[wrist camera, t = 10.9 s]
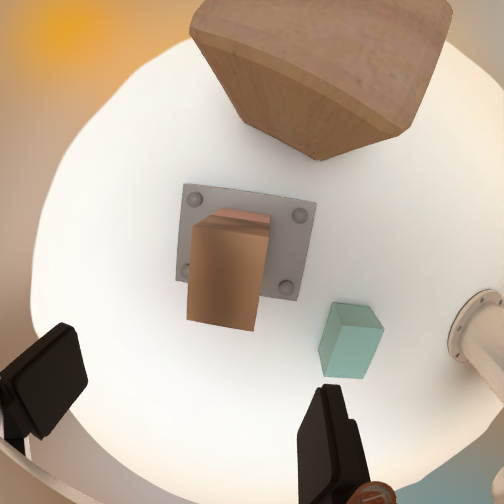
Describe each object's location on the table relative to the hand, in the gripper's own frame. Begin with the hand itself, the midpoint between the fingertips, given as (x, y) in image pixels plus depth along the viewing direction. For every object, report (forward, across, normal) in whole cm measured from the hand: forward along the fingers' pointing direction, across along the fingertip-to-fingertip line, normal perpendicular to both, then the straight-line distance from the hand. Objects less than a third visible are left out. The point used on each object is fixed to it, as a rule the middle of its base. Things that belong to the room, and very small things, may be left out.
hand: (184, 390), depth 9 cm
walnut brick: (+16, 0, 0) cm, 16 cm away
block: (+22, -4, -16) cm, 28 cm away
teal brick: (+22, -14, +9) cm, 28 cm away
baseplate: (+22, 0, 0) cm, 22 cm away
